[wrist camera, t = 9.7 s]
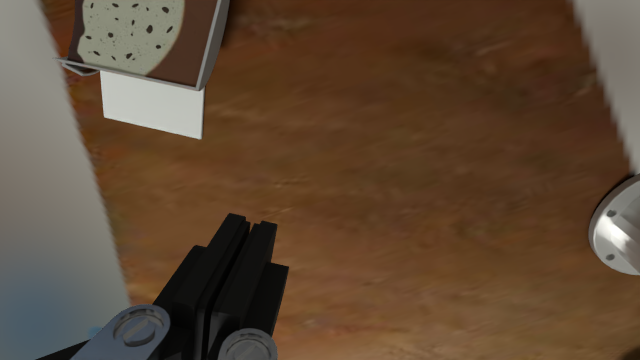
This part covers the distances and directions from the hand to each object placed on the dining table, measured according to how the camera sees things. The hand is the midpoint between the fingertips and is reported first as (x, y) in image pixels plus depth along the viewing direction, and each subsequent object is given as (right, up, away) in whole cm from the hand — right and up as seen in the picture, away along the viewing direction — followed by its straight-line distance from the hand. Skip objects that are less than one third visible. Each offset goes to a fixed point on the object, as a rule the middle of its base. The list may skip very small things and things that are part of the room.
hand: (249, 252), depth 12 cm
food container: (-6, +14, +17) cm, 23 cm away
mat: (-13, +13, +21) cm, 28 cm away
